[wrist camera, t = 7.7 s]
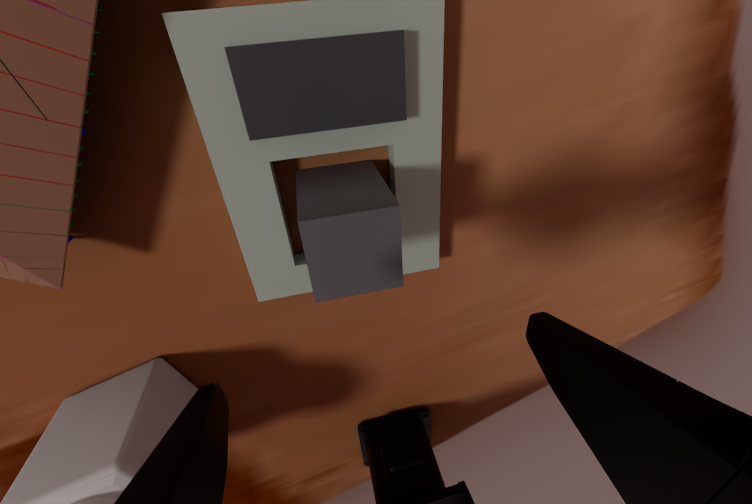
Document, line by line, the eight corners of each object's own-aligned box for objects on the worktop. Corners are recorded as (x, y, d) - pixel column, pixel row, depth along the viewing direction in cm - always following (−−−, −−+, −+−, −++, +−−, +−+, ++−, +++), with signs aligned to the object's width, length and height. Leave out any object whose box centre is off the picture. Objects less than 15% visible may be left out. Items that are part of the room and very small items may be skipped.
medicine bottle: (141, 446, 27) (55, 692, 17) (62, 397, 23) (-112, 679, 13) (226, 409, 27) (189, 635, 17) (161, 353, 23) (61, 605, 13)
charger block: (376, 225, 21) (403, 285, 16) (308, 236, 21) (315, 302, 16) (370, 159, 19) (399, 205, 14) (295, 170, 18) (297, 221, 13)
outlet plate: (432, 257, 23) (443, 275, 21) (260, 289, 22) (257, 310, 20) (434, -9, 16) (452, -13, 14) (170, 14, 14) (154, 12, 12)
